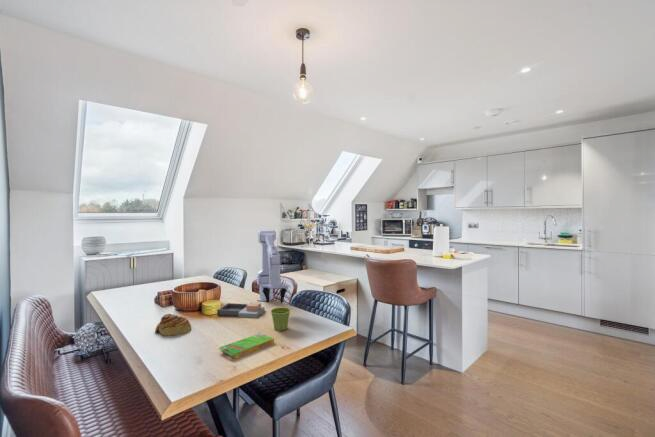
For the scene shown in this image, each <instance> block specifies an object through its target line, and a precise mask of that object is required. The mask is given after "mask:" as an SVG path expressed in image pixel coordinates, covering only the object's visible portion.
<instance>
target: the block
mask: <svg viewBox="0 0 655 437" xmlns="http://www.w3.org/2000/svg"><path fill="white" fill-rule="evenodd" d="M261 307H262V303H261V302H250V303H247V306H246V310H248V311H257V310H259V309H260V308H261Z"/></svg>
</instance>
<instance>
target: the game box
mask: <svg viewBox="0 0 655 437" xmlns="http://www.w3.org/2000/svg"><path fill="white" fill-rule="evenodd" d="M273 344H275V338H273V337H271V336H268V335H266V334H263V333H262V332H261V333H259V332H258V333H256V334H254V335H251V336H248V337H245V338H243V339H240V340H237V341H234V342H231V343H227V344H225V345H223V346H220V347H219V348H218V350H219V351H220V352H222V353H225V354H226V355H229V356H230V357H232V358H233V359H239V358H241V357H244V356H246V355H248V354H251V353H254V352H256V351H258V350H261V349H263V348H266V347H269V346H271V345H273Z"/></svg>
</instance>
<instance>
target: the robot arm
mask: <svg viewBox="0 0 655 437" xmlns="http://www.w3.org/2000/svg"><path fill="white" fill-rule="evenodd" d="M257 233H258V237H257V242H258V244H260V245H261V269H260V270H259V271H257V273H256V284H257V285H258V286H259V298H257V299H256V301H257V302H259V301H260V302H266V303H269V302H271V300H273V299H274V298H275V296H274V290H279V293H280V294H279V295H280V304H283V303H284V299H285V296H286V293H287V291H288V290H289V285H287V284H281V265H282V254H281V253H279V251H278V247H277V246H276V245H275V241H276V240H277V233H276V230H275V229H273V230H258V232H257Z"/></svg>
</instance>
